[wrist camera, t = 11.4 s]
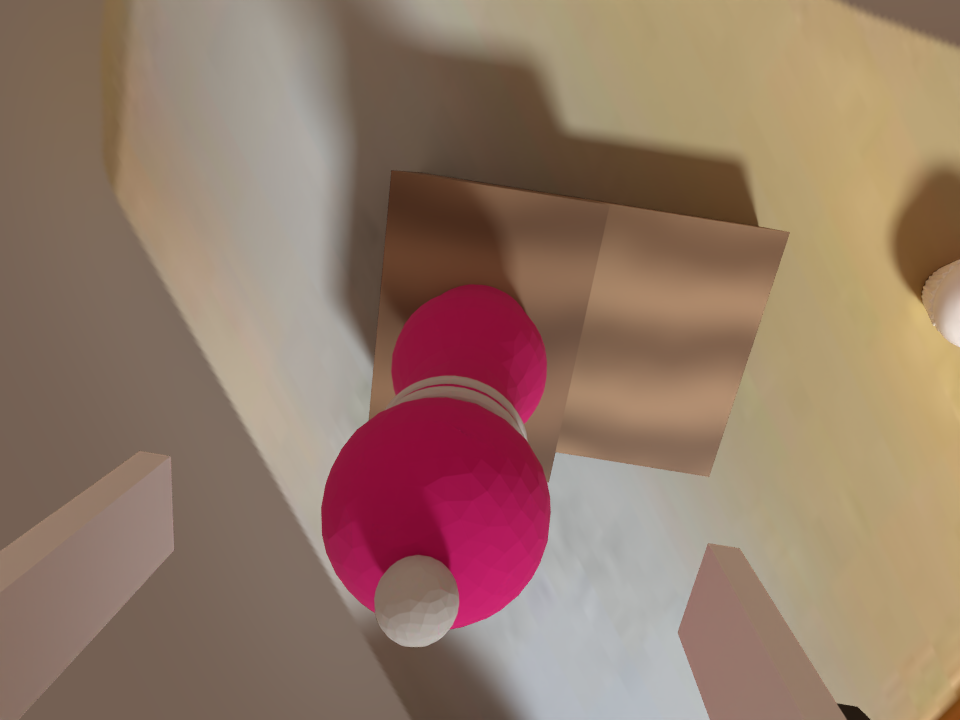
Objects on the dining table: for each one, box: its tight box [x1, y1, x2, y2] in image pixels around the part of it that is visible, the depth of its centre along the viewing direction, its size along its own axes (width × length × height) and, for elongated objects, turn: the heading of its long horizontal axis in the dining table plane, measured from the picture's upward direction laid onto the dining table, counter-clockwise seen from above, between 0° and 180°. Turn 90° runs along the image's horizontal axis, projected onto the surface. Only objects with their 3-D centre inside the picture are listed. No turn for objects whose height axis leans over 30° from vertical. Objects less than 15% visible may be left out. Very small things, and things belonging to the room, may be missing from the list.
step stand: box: [369, 170, 790, 482], centre depth 33 cm, size 16×22×8 cm
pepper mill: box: [321, 284, 551, 647], centre depth 20 cm, size 7×7×20 cm
